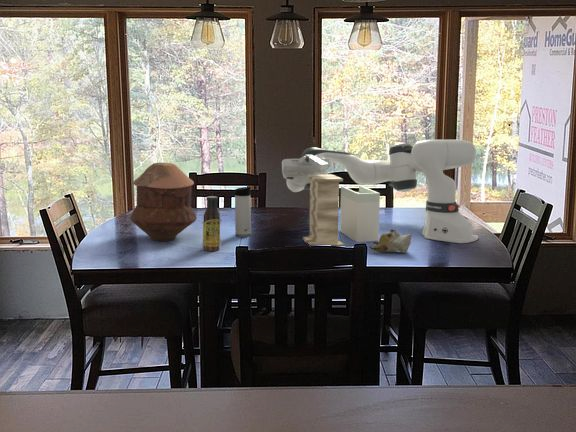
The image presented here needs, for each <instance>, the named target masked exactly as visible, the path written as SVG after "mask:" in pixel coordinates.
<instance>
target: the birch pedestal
mask: <svg viewBox="0 0 576 432" xmlns="http://www.w3.org/2000/svg"><path fill="white" fill-rule="evenodd" d="M307 178H309V179H310V191H309V235H308V236H302V240H304V242H305V244H307V243H308V244H310V245H331V246H345V247H346V244H345V243H343V242H342V241H341V240H339V213H340V212H339V209H340V207H339V206H340V203H339V201H340V196H339V195H340V183H341V182H344V178H342V177H340V176H337V175H335V174H333V173H328V174H316V175H307ZM308 244H307V245H308ZM310 245H309V246H310Z"/></svg>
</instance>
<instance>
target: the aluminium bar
mask: <svg viewBox="0 0 576 432" xmlns="http://www.w3.org/2000/svg"><path fill="white" fill-rule="evenodd" d="M305 156H307V161H306V162H308V163H309V164H311V165H313V166H314V167H316V168H318V169H319V170H327V171H329V169H328V163H326V162H324V161H323V160H321V159H319V158H317V157H315V156H314V155H312V154H310V155H305Z"/></svg>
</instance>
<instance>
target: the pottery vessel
mask: <svg viewBox="0 0 576 432" xmlns="http://www.w3.org/2000/svg"><path fill="white" fill-rule="evenodd" d="M132 184H133V185H134V186H135V187H136V205H135V207H134V209H133V210H132V212H131V215H130V221H131V222H132V223H133V224H134V225H135V226H137V227H138V228H139V229H140V230H141V231H143V232H144V233H145V234H146V235H147V236H148V237H150V239H151V240H153V241H157V242H166V241H168V242H169V241H173V240H175V239H176V238H177V236H178V235H179V234H180V233H182V232H183V231H184V230H185V229H187V228H188V227H189V226H190V225H192V224H193V223H195V222H196V221H197V215H196V212H195V210H194V209H193V208H192V206H191V203H192V202H191V200H192V199H191V198H192V186H194V184H195V182H194V180H193V179H191V178H190V177H189V176H188V175H187V174H186V173H185V172H184V171H183V170H181V169H180V168H179V167H178V166H177V165H176V164H174V163H173V162H172V163H170V162H153V163H152V164H150V165H149V166H148V167H147V168H146V169H145V170H144V172H143V173H141V175H140V176H139V177H137V178H135V179H134V180H133V181H132Z"/></svg>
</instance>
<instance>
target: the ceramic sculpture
mask: <svg viewBox="0 0 576 432" xmlns="http://www.w3.org/2000/svg"><path fill="white" fill-rule="evenodd" d="M412 234H413V233H410V234H405V235H402V234H400V233H399V232H398V231H397V230H394V229H391V230H390V232H384V233H382V234H380V236H379V239H378V241H372V242H373V244H374V245H372V246H368V249H370V250H372V251H373V252H374V251H375V252H377V253H381V252H385V253H394V252H399V253H401V254H406V253H407V252H408V250H409V247H410V245H411V244H412V243H411V241H412V236H413V235H412Z"/></svg>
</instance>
